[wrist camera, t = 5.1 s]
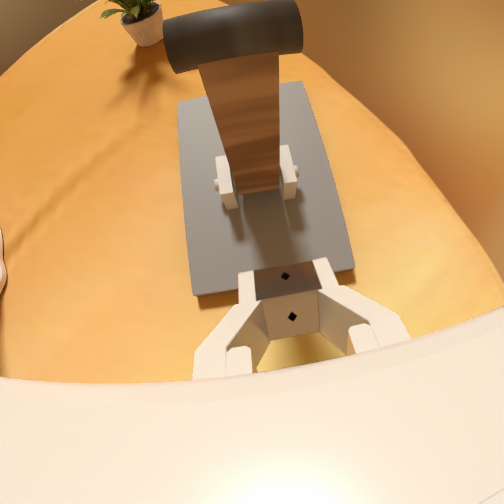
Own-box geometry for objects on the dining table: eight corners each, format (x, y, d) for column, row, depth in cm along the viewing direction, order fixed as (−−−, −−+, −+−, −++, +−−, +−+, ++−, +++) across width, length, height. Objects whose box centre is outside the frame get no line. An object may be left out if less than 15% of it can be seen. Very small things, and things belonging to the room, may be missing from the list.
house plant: (125, 82, 39) (80, 7, 23) (99, 52, 42) (62, -9, 26) (201, 35, 40) (179, -44, 24) (164, 12, 43) (140, -51, 27)
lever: (292, 187, 29) (304, 17, 10) (226, 198, 29) (161, 41, 11) (285, 158, 30) (287, -11, 11) (222, 169, 30) (163, 10, 11)
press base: (351, 269, 30) (366, 259, 25) (196, 296, 31) (180, 291, 26) (301, 88, 36) (303, 59, 30) (180, 109, 36) (168, 82, 31)
